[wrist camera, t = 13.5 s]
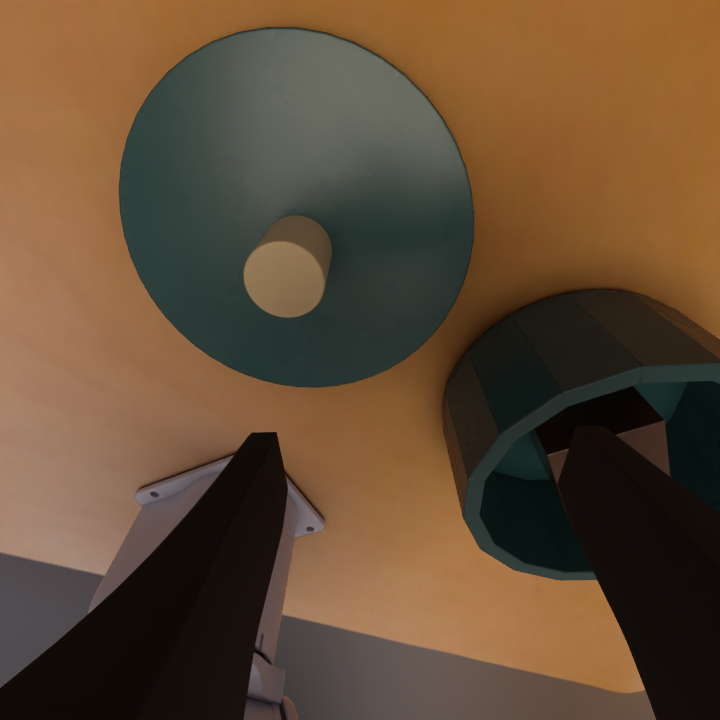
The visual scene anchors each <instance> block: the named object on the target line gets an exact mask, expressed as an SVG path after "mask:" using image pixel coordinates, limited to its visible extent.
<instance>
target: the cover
mask: <svg viewBox="0 0 720 720" xmlns="http://www.w3.org/2000/svg"><path fill="white" fill-rule="evenodd" d="M119 201H120V215H121V220H122V226H123V232H124V237H125V240H126V243H127V246H128V250H129V253H130V256H131V259H132V261H133V263H134V266H135V268H136V270H137V272H138V275H139V277H140V279H141V281H142V283H143V284H144V286H145V288H146V289H147V291H148V293H149V295H150V296H151V298H152V299H153V301H154V302H155V303H156V305H157V306H158V308H159V309H160V310H161V312H162V313H163V314H164V316H165V317H166V318H167V319H168V320H169V321H170V322H171V323H172V324H173V325H174V327H175V328H176V329H177V330H178V331H179V332H180V333H181V334H182V335H184V336H185V337H186V338H187V339H188V340H189V341H190V342H191V343H193V344H194V345H195V346H196V347H198V348H199V349H201V350H202V351H203V352H205V353H206V354H208V355H209V356H210V357H212V358H214V359H215V360H217V361H219V362H221V363H222V364H224V365H226V366H227V367H230V368H232V369H234V370H236V371H238V372H241V373H243V374H245V375H248V376H251V377H254V378H257V379H260V380H263V381H267V382H271V383H276V384H280V385H287V386H296V387H328V386H338V385H343V384H348V383H353V382H356V381H359V380H363V379H366V378H369V377H372V376H374V375H376V374H379V373H381V372H383V371H385V370H387V369H389V368H391V367H393V366H394V365H396V364H398V363H399V362H401V361H403V360H404V359H406V358H407V357H408V356H409V355H411V354H412V353H413V352H415V351H416V350H417V349H419V348H420V347H421V346H422V345H423V344H424V343H425V342H426V341H427V340H428V339H429V338H430V337H431V336H432V335H433V333H434V332H435V331H436V330H437V328H438V327H439V326H440V325H441V323H442V322H443V321H444V320H445V318H446V316H447V315H448V313H449V311H450V310H451V308H452V306H453V305H454V303H455V301H456V299H457V297H458V294H459V292H460V290H461V288H462V285H463V283H464V280H465V277H466V273H467V270H468V266H469V263H470V258H471V252H472V245H473V236H474V211H473V201H472V191H471V187H470V183H469V179H468V175H467V171H466V167H465V164H464V161H463V159H462V156H461V154H460V151H459V149H458V146H457V143H456V141H455V139H454V137H453V136H452V134H451V132H450V130H449V128H448V127H447V125H446V123H445V121H444V119H443V118H442V116H441V115H440V114H439V112H438V111H437V110H436V108H435V107H434V106H433V104H432V103H431V102H430V100H429V99H428V98H427V96H426V95H425V94H424V93H423V92H422V91H421V90H420V89H419V88H418V87H417V86H416V85H415V84H414V83H413V82H412V81H411V80H410V79H409V78H408V77H407V76H406V75H405V74H404V73H402V72H401V71H400V70H398V69H397V68H396V67H394V66H393V65H392V64H390V63H389V62H388V61H386V60H385V59H384V58H382V57H381V56H379V55H377V54H375V53H374V52H372V51H370V50H368V49H366V48H364V47H362V46H360V45H358V44H357V43H355V42H352V41H349V40H346V39H343V38H340V37H338V36H335V35H332V34H329V33H326V32H320V31H315V30H309V29H303V28H297V27H266V28H260V29H254V30H248V31H242V32H237V33H235V34H232V35H229V36H226V37H223V38H220V39H218V40H215V41H212V42H210V43H209V44H207V45H205V46H203V47H201V48H200V49H198V50H196V51H194V52H193V53H191V54H189V55H188V56H186V57H185V58H184V59H183V60H182V61H180V62H179V63H178V64H177V65H175V66H174V67H173V68H172V69H171V70H169V71H168V72H167V73H166V74H165V76H164V77H163V78H162V79H161V80H160V81H159V83H158V84H157V85H156V86H155V87H154V88H153V90H152V91H151V92H150V93H149V95H148V97H147V98H146V100H145V102H144V103H143V105H142V107H141V108H140V110H139V112H138V113H137V115H136V117H135V120H134V122H133V125H132V127H131V130H130V132H129V135H128V137H127V141H126V145H125V149H124V153H123V157H122V162H121V170H120V181H119Z"/></svg>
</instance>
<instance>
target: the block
mask: <svg viewBox="0 0 720 720" xmlns="http://www.w3.org/2000/svg"><path fill="white" fill-rule="evenodd" d="M576 426H604V427H605V428H607V429H608V430H609V431H611V432H612V433H614V434H615V435H616V436H618V437H619V438H620V439H622V440H623V441H624V442H626V443H627V444H628V445H629V446H631V447H632V448H633V449H635V450H636V451H637V452H639V453H640V454H641V455H642V456H644V457H645V458H646V459H648V460H649V461H650V462H652V463H653V464H654V465H655V466H657V467H658V468H659V469H661V470H662V471H663V472H665V473H666V474H667V475H669V476H670V466H669V456H668V446H667V436H666V427H665V420H664V419H663V418H662V417H661V416H660V415H659V414H658V413H657V411H656V410H655V409H654V408H653V407H652V406H651V405H650V404H649V403H648V402H647V401H646V400H645V398H644V397H643V396H642V395H641V394H640V393H639V392H638V391H637V390H636V389H635V388H634V386H631V387H628V388H624V389H621V390H618V391H615V392H612V393H609V394H606V395H603V396H599V397H596V398H593V399H590V400H587V401H584V402H581V403H578V404H574V405H571V406H568V407H567V408H565V409H564V410H562V411H561V412H559V413H557V414H556V415H554V416H553V417H551V418H550V419H548V420H547V421H545V422H544V423H542V424H541V425H539V426H537V427H536V428H534V429H533V430H531V431H530V432H529V434H530V437H531V440H532V443H533V446H534V448H535V450H536V452H537V455H538V457H539V459H540V461H541V463H542V465H543V467H544V469H545V471H546V473H547V476H548V478H549V480H550V482H551V484H552V486H553V488H554V490H555V492H556V495H557V497H558V499H559V501H560V503H561V505H562V507H563V509H564V511H565V513H566V510H565V507H564V504H563V501H562V498H561V495H560V492H559V488H558V485H557V483H558V480H559V477H560V474H561V471H562V468H563V465H564V462H565V459H566V456H567V453H568V450H569V447H570V444H571V441H572V438H573V435H574V432H575V429H576ZM670 477H671V476H670ZM566 516H567V517H568V515H567V513H566Z"/></svg>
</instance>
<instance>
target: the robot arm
mask: <svg viewBox="0 0 720 720" xmlns="http://www.w3.org/2000/svg"><path fill="white" fill-rule="evenodd" d="M557 485H558V488H559V492H560V495H561V498H562V501H563V504H564V507H565V510H566V513H567V515H568V518H569V521H570V524H571V526H572V528H573V531H574V533H575V535H576V537H577V539H578V541H579V543H580V545H581V547H582V550H583V552H584V554H585V556H586V558H587V560H588V562H589V564H590V566H591V568H592V570H593V572H594V574H595V576H596V578H597V580H598V582H599V584H600V586H601V589H602V591H603V593H604V595H605V597H606V599H607V601H608V603H609V605H610V607H611V609H612V611H613V613H614V615H615V617H616V619H617V621H618V623H619V626H620V628H621V630H622V632H623V635H624V637H625V639H626V641H627V644H628V646H629V648H630V651H631V653H632V656H633V659H634V661H635V664H636V666H637V669H638V672H639V674H640V677H641V679H642V682H643V685H644V687H645V690H646V692H647V695H648V698H649V700H650V703H651V706H652V709H653V712H654V714H655V717H656V720H720V513H719V512H717V511H716V510H714V509H713V508H712V507H710V506H709V505H708V504H706V503H705V502H703V501H702V500H701V499H699V498H698V497H697V496H695V495H694V494H692V493H691V492H690V491H688V490H687V489H686V488H684V487H683V486H682V485H680V484H679V483H678V482H676V481H675V480H674V479H672V478H671V477H670V476H669V475H667V474H666V473H665V472H663V471H662V470H661V469H659V468H658V467H657V466H655V465H654V464H653V463H652V462H650V461H649V460H648V459H646V458H645V457H644V456H642V455H641V454H640V453H639V452H637V451H636V450H635V449H633V448H632V447H631V446H629V445H628V444H627V443H626V442H624V441H623V440H622V439H620V438H619V437H618V436H616V435H615V434H614V433H612V432H611V431H609V430H608V429H607V428H605V427H604V426H576V429H575V432H574V435H573V438H572V441H571V444H570V447H569V450H568V453H567V456H566V459H565V462H564V465H563V468H562V471H561V474H560V477H559V480H558V483H557ZM134 498H135V500H136V501H137V502H138V503H140V504H141V505H142V506H143V507H142V509H141V511H140V513H139V514H138V516H137V518H136V520H135V522H134V523H133V525H132V527H131V529H130V531H129V533H128V534H127V536H126V538H125V540H124V542H123V543H122V545H121V547H120V549H119V551H118V553H117V554H116V556H115V558H114V560H113V562H112V563H111V565H110V567H109V569H108V571H107V573H106V574H105V576H104V578H103V580H102V582H101V584H100V585H99V587H98V589H97V591H96V593H95V595H94V597H93V599H92V601H91V604H90V607H89V611H88V615H87V616H86V617H85V618H83V619H82V620H81V621H80V622H79V623H78V624H77V625H76V626H75V627H73V628H72V629H71V630H70V631H69V632H68V633H67V634H65V635H64V636H63V637H62V638H61V639H59V640H58V641H57V642H56V643H55V644H54V645H52V646H51V647H50V648H49V649H47V650H46V651H45V652H44V653H43V654H41V655H40V656H39V657H38V658H37V659H35V660H34V661H33V662H32V663H30V664H29V665H28V666H27V667H25V668H24V669H23V670H22V671H21V672H19V673H18V674H17V675H16V676H14V677H13V678H12V679H11V680H10V681H8V682H7V683H6V684H5V685H4V686H2V687H1V688H0V720H298V716H297V713H296V710H295V707H294V705H293V703H292V702H291V700H290V699H289V698H288V697H286V696H283V695H282V694H283V686H284V680H285V671H284V670H281V669H279V668H276V667H274V666H273V664H274V658H275V652H276V646H277V639H278V634H279V628H280V622H281V616H282V610H283V604H284V598H285V592H286V586H287V580H288V574H289V568H290V562H291V556H292V550H293V544H294V538H297V537H301V536H304V535H308V534H311V533H315V532H318V531H321V530H323V529H324V524H325V522H324V520H323V519H322V518H321V516H320V515H319V514H318V513H317V512H316V511H315V509H314V508H313V507H312V506H311V505H310V503H309V502H308V501H307V500H306V499H305V498H304V496H303V495H302V494H301V493H300V492H299V490H298V489H297V488H296V487H295V486H294V485H293V483H292V482H291V481H290V480H289V479H288V477H287V476H286V475H285V471H284V466H283V461H282V456H281V451H280V447H279V442H278V437H277V432H263V433H251V434H250V435H249V436H248V437H247V439H246V440H245V441H244V443H243V444H242V445H241V447H240V448H239V449H238V451H237V452H236V453H235V455H233V456H230V457H227V458H224V459H222V460H219V461H216V462H213V463H211V464H208V465H205V466H202V467H200V468H197V469H194V470H191V471H188V472H186V473H183V474H180V475H177V476H175V477H172V478H169V479H166V480H164V481H161V482H158V483H155V484H153V485H150V486H147V487H144V488H142V489H139V490H137V492H136V493H135V495H134Z"/></svg>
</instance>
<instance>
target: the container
mask: <svg viewBox="0 0 720 720" xmlns="http://www.w3.org/2000/svg"><path fill="white" fill-rule="evenodd" d="M631 386H634V388H635V389H636V390H637V391H638V392H639V393H640V394H641V395H642V396H643V397H644V398H645V400H646V401H647V402H648V403H649V404H650V405H651V406H652V407H653V408H654V409H655V410H656V411H657V413H658V414H659V415H660V416H661V417H662V418H663V419H664V420H665V427H666V436H667V446H668V456H669V466H670V476H671V478H672V479H674V480H675V481H676V482H678V483H679V484H680V485H682V486H683V487H684V488H686V489H687V490H688V491H690V492H691V493H692V494H694V495H695V496H697V497H698V498H699V499H701V500H702V501H703V502H705V503H706V504H708V505H709V506H710V507H712V508H713V509H714V510H716V511H717V512H719V513H720V340H719V339H718V338H716V337H715V336H714V335H712V334H711V333H709V332H708V331H706V330H705V329H703V328H702V327H700V326H699V325H698V324H696V323H695V322H693V321H692V320H690V319H689V318H687V317H686V316H684V315H683V314H682V313H680V312H679V311H677V310H676V309H673V308H670V307H668V306H665V305H663V304H661V303H659V302H657V301H655V300H653V299H651V298H649V297H646V296H642V295H639V294H635V293H632V292H625V291H618V290H586V291H577V292H571V293H567V294H562V295H557V296H554V297H551V298H548V299H545V300H542V301H539V302H536V303H534V304H532V305H529V306H527V307H525V308H523V309H520V310H518V311H517V312H515V313H513V314H511V315H510V316H508V317H506V318H505V319H503V320H501V321H500V322H499V323H497V324H496V325H495V326H493V327H492V328H490V329H489V330H488V331H487V332H485V333H484V334H483V335H482V336H481V337H480V338H479V339H478V340H477V341H476V342H475V343H474V344H473V345H472V346H471V347H470V348H469V349H468V351H467V352H466V353H465V354H464V355H463V357H462V358H461V360H460V361H459V363H458V364H457V366H456V367H455V369H454V371H453V373H452V375H451V377H450V379H449V381H448V385H447V388H446V391H445V394H444V401H443V432H444V436H445V440H446V445H447V449H448V454H449V458H450V462H451V467H452V471H453V476H454V480H455V484H456V489H457V493H458V498H459V502H460V507H461V511H462V515H463V519H464V521H465V522H466V524H467V526H468V528H469V530H470V532H471V533H472V535H473V537H474V539H475V541H476V543H477V544H478V546H479V548H480V549H481V550H482V551H484V552H486V553H487V554H489V555H490V556H492V557H494V558H495V559H497V560H498V561H500V562H502V563H503V564H505V565H506V566H508V567H510V568H511V569H513V570H515V571H520V572H524V573H528V574H533V575H537V576H542V577H546V578H551V579H555V580H597V578H596V576H595V574H594V572H593V570H592V568H591V566H590V564H589V562H588V560H587V558H586V556H585V554H584V552H583V550H582V547H581V545H580V543H579V541H578V539H577V537H576V535H575V533H574V531H573V528H572V526H571V524H570V521H569V518H568V517H567V516H566V513H565V511H564V509H563V507H562V505H561V503H560V501H559V499H558V497H557V495H556V492H555V490H554V488H553V486H552V484H551V482H550V480H549V478H548V476H547V473H546V471H545V469H544V467H543V465H542V463H541V461H540V459H539V457H538V455H537V452H536V450H535V448H534V446H533V443H532V440H531V437H530V434H529V432H530V431H531V430H533V429H534V428H536V427H537V426H539V425H541V424H542V423H544V422H545V421H547V420H548V419H550V418H551V417H553V416H554V415H556V414H557V413H559V412H561V411H562V410H564V409H565V408H567V407H568V406H571V405H574V404H578V403H581V402H584V401H587V400H590V399H593V398H596V397H599V396H603V395H606V394H609V393H612V392H615V391H618V390H621V389H624V388H628V387H631Z"/></svg>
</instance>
